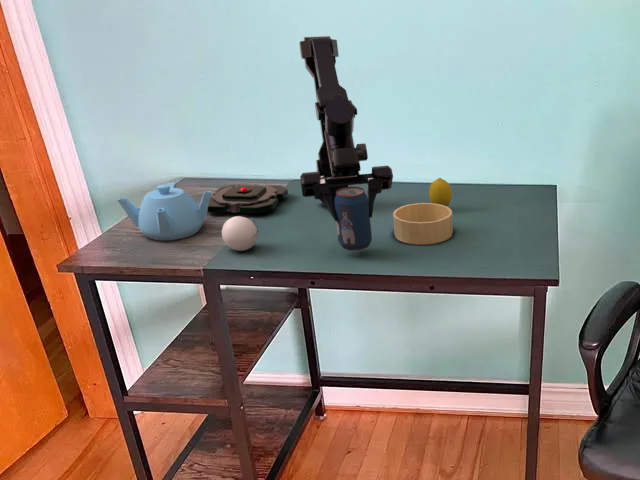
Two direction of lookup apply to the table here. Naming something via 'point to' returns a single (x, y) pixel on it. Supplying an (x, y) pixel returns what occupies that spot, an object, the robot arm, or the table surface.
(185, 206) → the teapot
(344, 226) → the soda can
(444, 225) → the cream yellow bowl
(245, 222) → the white ball
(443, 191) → the lemon
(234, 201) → the dark brown layered slab
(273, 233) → the table surface
